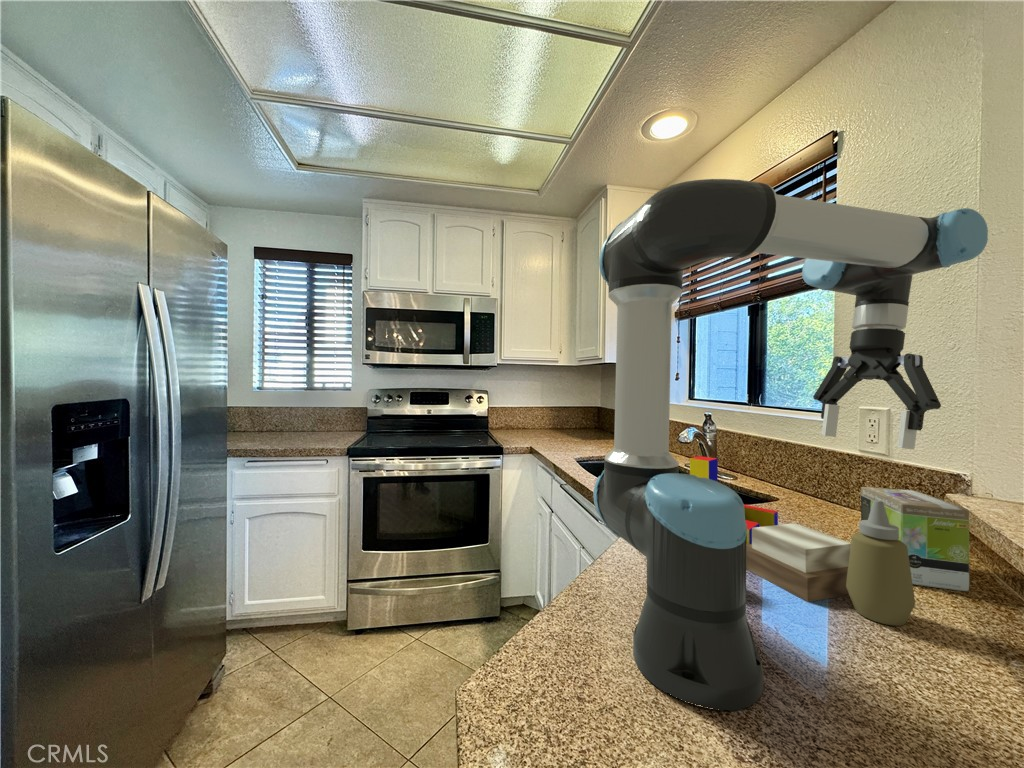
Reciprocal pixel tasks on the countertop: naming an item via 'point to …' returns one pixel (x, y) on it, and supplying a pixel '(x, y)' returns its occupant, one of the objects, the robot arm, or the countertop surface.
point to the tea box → (927, 535)
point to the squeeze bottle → (880, 571)
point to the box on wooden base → (800, 560)
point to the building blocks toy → (753, 515)
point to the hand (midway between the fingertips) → (863, 441)
